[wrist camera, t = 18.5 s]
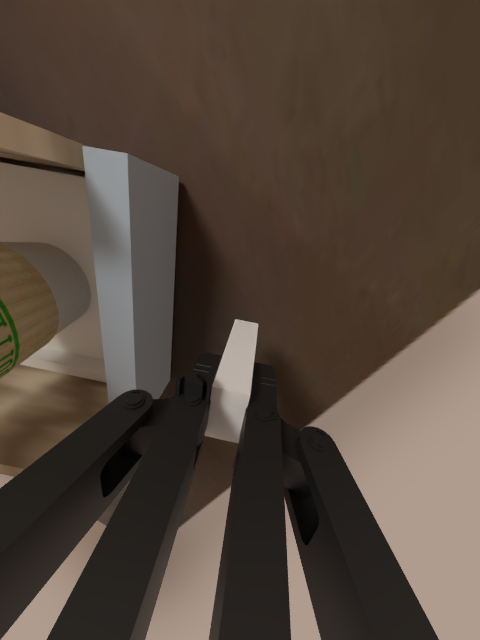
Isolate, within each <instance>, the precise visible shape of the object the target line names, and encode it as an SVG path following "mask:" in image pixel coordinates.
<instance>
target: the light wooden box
mask: <svg viewBox="0 0 480 640" xmlns="http://www.w3.org/2000/svg"><path fill="white" fill-rule="evenodd" d="M82 146H86V145H83V144H81V143H78V142H76V141H73V140H70V139H68V138H65V137H63V136H60V135H58V134H55V133H52V132H50V131H47V130H45V129H42V128H40V127H37V126H34V125H32V124H29V123H27V122H24V121H22V120H19V119H17V118H14V117H11V116H9V115H6V114H4V113H1V112H0V162H1V163H7V164H13V165H18V166H24V167H30V168H35V169H41V170H47V171H52V172H58V173H64V174H69V175H75V176H80V177H85V168H84V158H83V148H82ZM87 147H88V146H87ZM108 404H109V402H108V392H107V383H105V382H101V381H96V380H91V379H86V378H82V377H77V376H72V375H68V374H63V373H58V372H53V371H49V370H44V369H39V368H34V367H30V366H25V365H20V364H19V365H18V366H17V367H15V368H14V369H12V370H11V371H10V372H8V373H7V374H6V375H4V376H3V377H2V378H0V474H5V475H9V476H13V477H16V476H17V475H18V474H19V473H21V472H22V471H23V470H24V469H26V468H27V467H28V466H30V465H31V464H32V463H33V462H35V461H36V460H37V459H39V458H40V457H41V456H42V455H44V454H45V453H46V452H48V451H49V450H50V449H51V448H53V447H54V446H55V445H57V444H58V443H59V442H60V441H62V440H63V439H64V438H65V437H67V436H68V435H69V434H71V433H72V432H73V431H74V430H76V429H77V428H78V427H80V426H81V425H82V424H83V423H85V422H86V421H87V420H89V419H90V418H91V417H92V416H94V415H95V414H96V413H98V412H99V411H100V410H101V409H103V408H104V407H105V406H106V405H108Z"/></svg>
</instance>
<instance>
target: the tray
mask: <svg viewBox="0 0 480 640" xmlns="http://www.w3.org/2000/svg"><path fill="white" fill-rule="evenodd" d="M82 148H83V158H84V168H85V177H80V176H75V175H69V174H64V173H58V172H52V171H47V170H41V169H35V168H30V167H24V166H18V165H13V164H7V163H1V162H0V242H39V243H47V244H50V245H53V246H55V247H57V248H59V249H61V250H63V251H64V252H66V253H67V254H68V255H70V256H71V257H72V258H73V259H74V260H75V261H76V262H77V263H78V265H79V266H80V267H81V269H82V270H83V272H84V274H85V276H86V277H87V280H88V283H89V285H90V291H91V301H90V305H89V307H88V309H87V311H86V312H85V313H84V314H83V315H82V316H81V317H80V318H78V319H77V320H75V321H74V322H73V323H71V324H70V325H69V326H67V327H66V328H64V329H63V330H62V331H60V332H59V333H58V334H56V335H55V336H54V337H53V338H52V339H51V341H50V342H49V343H47V344H46V345H45V346H43V347H42V348H41V349H39V350H38V351H37V352H35V353H34V354H33V355H31V356H30V357H29V358H27V359H26V360H25V361H23V362H22V363H21V364H20V365H25V366H30V367H34V368H39V369H44V370H49V371H53V372H58V373H63V374H68V375H72V376H77V377H82V378H86V379H91V380H96V381H101V382H105V383H107V392H108V402H109V403H110V402H112V401H113V400H114V399H115V398H117V397H118V396H119V395H121V394H123V393H124V392H126V391H130V390H136V389H141V390H145V391H147V392H149V393H150V394H151V395H152V397H153V399H159V397H160V396H161V394H162V393H163V391H164V389H165V388H166V386H167V384H168V383H169V381H170V372H171V349H172V326H173V303H174V280H175V257H176V234H177V211H178V188H179V176H177V175H174V174H172V173H170V172H168V171H165V170H163V169H161V168H159V167H156V166H154V165H152V164H150V163H148V162H145V161H143V160H141V159H139V158H136V157H134V156H132V155H130V154H127V153H122V152H116V151H110V150H104V149H98V148H93V147H87V146H82Z"/></svg>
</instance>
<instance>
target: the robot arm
mask: <svg viewBox="0 0 480 640" xmlns="http://www.w3.org/2000/svg"><path fill="white" fill-rule="evenodd" d="M257 331H258V324H257V323H252V322H247V321H242V320H237V319H235V322H234V325H233V327H232V330H231V333H230V336H229V339H228V342H227V345H226V348H225V351H224V353H223V356H219V355H214V354H209V353H205V354H204V355H202V356H201V357H200V358H199V360H198V362H197V364H196V366H195V368H194V370H193V372H187V373H184V374H182V375H180V376H179V377H178V378H177V384H176V396H174V397H171V398H166V399H153V397H152V395H151V394H150V393H149V392H147V391H145V390H141V389H136V390H130V391H126V392H124V393H123V394H121V395H119V396H118V397H117V398H115V399H114V400H113V401H112V402H110V403H109V404H108V405H106V406H105V407H104V408H103V409H101V410H100V411H99V412H98V413H96V414H95V415H94V416H92V417H91V418H90V419H89V420H87V421H86V422H85V423H83V424H82V425H81V426H80V427H78V428H77V429H76V430H74V431H73V432H72V433H71V434H69V435H68V436H67V437H65V438H64V439H63V440H62V441H60V442H59V443H58V444H57V445H55V446H54V447H53V448H51V449H50V450H49V451H48V452H46V453H45V454H44V455H42V456H41V457H40V458H39V459H37V460H36V461H35V462H33V463H32V464H31V465H30V466H28V467H27V468H26V469H24V470H23V471H22V472H21V473H19V474H18V475H17V476H16V477H14V478H13V479H12V480H10V481H9V482H8V483H7V484H5V485H4V486H3V487H1V488H0V639H1V638H2V637H3V636H4V635H5V633H6V632H7V631H8V630H9V628H10V627H11V626H12V625H13V624H14V622H15V621H16V620H17V619H18V617H19V616H20V615H21V614H22V612H23V611H24V610H25V608H26V607H27V606H28V605H29V604H30V602H31V601H32V600H33V599H34V598H35V596H36V595H37V594H38V593H39V591H40V590H41V589H42V588H43V586H44V585H45V584H46V583H47V581H48V580H49V579H50V578H51V576H52V575H53V574H54V573H55V571H56V570H57V569H58V568H59V566H60V565H61V564H62V563H63V561H64V560H65V559H66V558H67V557H68V555H69V554H70V553H71V552H72V550H73V549H74V548H75V547H76V545H77V544H78V543H79V542H80V541H81V539H82V538H83V537H84V536H85V534H86V533H87V532H88V531H89V529H90V528H91V527H92V526H93V524H94V523H95V522H96V521H97V520H98V518H99V517H100V516H101V515H102V513H103V512H104V511H105V510H106V508H107V507H108V506H109V505H110V503H111V502H112V501H113V500H114V498H115V497H116V496H117V495H118V494H119V492H120V491H121V490H122V489H123V487H124V486H125V485H126V484H127V482H128V481H129V480H130V479H131V477H132V476H133V477H132V479H131V481H130V483H129V485H128V487H127V489H126V490H125V492H124V494H123V496H122V498H121V500H120V502H119V504H118V506H117V507H116V509H115V511H114V513H113V515H112V517H111V519H110V521H109V523H108V525H107V526H106V528H105V530H104V532H103V534H102V536H101V538H100V540H99V542H98V544H97V545H96V547H95V549H94V551H93V553H92V555H91V557H90V559H89V560H88V562H87V564H86V566H85V568H84V570H83V572H82V574H81V576H80V578H79V579H78V581H77V583H76V585H75V587H74V589H73V591H72V593H71V594H70V596H69V598H68V600H67V602H66V604H65V606H64V608H63V610H62V611H61V613H60V615H59V617H58V619H57V621H56V623H55V625H54V627H53V628H52V630H51V632H50V634H49V636H48V638H47V640H145V638H146V634H147V631H148V628H149V624H150V621H151V617H152V614H153V611H154V607H155V604H156V600H157V597H158V594H159V590H160V587H161V584H162V580H163V577H164V573H165V570H166V567H167V563H168V560H169V557H170V553H171V550H172V546H173V543H174V539H175V536H176V533H177V530H178V526H179V523H180V519H181V516H182V513H183V509H184V506H185V502H186V499H187V496H188V492H189V489H190V486H191V482H192V479H193V475H194V472H195V469H196V465H197V462H198V458H199V455H200V452H201V448H202V442H203V438H204V434H205V436H208V437H212V438H217V439H221V440H225V441H230V442H234V443H239V444H238V449H237V453H236V458H235V462H234V466H233V468H234V472H233V479H232V486H231V493H230V500H229V506H228V513H227V520H226V527H225V534H224V541H223V547H222V554H221V561H220V567H219V574H218V581H217V588H216V595H215V601H214V608H213V615H212V622H211V629H210V635H209V640H291V630H290V611H289V610H290V609H289V588H288V569H287V568H288V567H287V549H286V547H287V546H286V525H285V505H284V497H285V500H286V504H287V508H288V512H289V516H290V520H291V524H292V527H293V532H294V536H295V539H296V543H297V547H298V551H299V555H300V559H301V563H302V567H303V571H304V574H305V578H306V582H307V586H308V590H309V594H310V598H311V602H312V606H313V609H314V613H315V617H316V621H317V625H318V629H319V633H320V637H321V640H439V639H438V637H437V635H436V633H435V631H434V630H433V628H432V626H431V624H430V622H429V620H428V618H427V616H426V614H425V612H424V611H423V609H422V607H421V605H420V603H419V601H418V599H417V597H416V596H415V594H414V592H413V590H412V588H411V586H410V584H409V582H408V580H407V579H406V577H405V575H404V573H403V571H402V569H401V567H400V565H399V563H398V561H397V560H396V558H395V556H394V554H393V552H392V550H391V548H390V546H389V544H388V542H387V541H386V539H385V537H384V535H383V533H382V531H381V529H380V527H379V526H378V524H377V522H376V520H375V518H374V516H373V514H372V512H371V510H370V509H369V507H368V505H367V503H366V501H365V499H364V497H363V495H362V493H361V491H360V490H359V488H358V486H357V484H356V482H355V480H354V478H353V476H352V475H351V473H350V471H349V469H348V467H347V465H346V463H345V461H344V459H343V457H342V456H341V454H340V452H339V450H338V448H337V446H336V444H335V442H334V441H333V440H332V438H331V437H330V436H329V435H328V434H327V433H326V432H324V431H323V430H321V429H319V428H316V427H311V426H310V427H305V428H303V429H302V430H301V431H299V430H297V429H295V428H293V427H291V426H290V425H288V424H287V423H285V422H284V421H283V420H282V419H281V418H280V415H279V413H278V411H277V408H276V381H275V380H276V378H275V371H274V370H273V368H272V366H269V365H264V364H260V363H255V362H254V358H255V349H256V340H257Z"/></svg>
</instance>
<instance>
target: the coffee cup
mask: <svg viewBox="0 0 480 640" xmlns="http://www.w3.org/2000/svg"><path fill="white" fill-rule="evenodd" d="M90 301H91V291H90V285H89V283H88V280H87V277H86V276H85V274H84V272H83V270H82V269H81V267H80V266H79V265H78V263H77V262H76V261H75V260H74V259H73V258H72V257H71V256H70V255H68V254H67V253H66V252H64V251H63V250H61V249H59V248H57V247H55V246H53V245H50V244H47V243H39V242H0V378H2V377H3V376H4V375H6V374H7V373H8V372H10V371H11V370H12V369H14V368H15V367H17V366H18V365H19V364H21V363H22V362H23V361H25V360H26V359H27V358H29V357H30V356H31V355H33V354H34V353H35V352H37V351H38V350H39V349H41V348H42V347H43V346H45V345H46V344H47V343H49V342H50V341H51V339H52V338H53V337H54V336H55V335H56V334H58V333H59V332H60V331H62V330H63V329H64V328H66V327H67V326H69V325H70V324H71V323H73V322H74V321H75V320H77V319H78V318H80V317H81V316H82V315H83V314H84V313H85V312H86V311H87V309H88V307H89V305H90Z"/></svg>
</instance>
